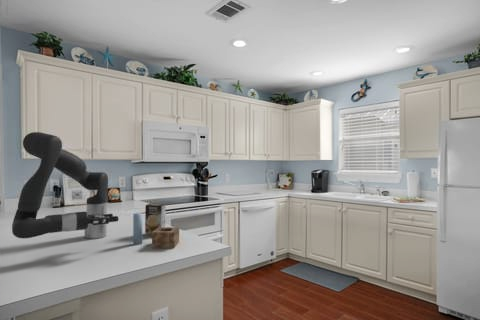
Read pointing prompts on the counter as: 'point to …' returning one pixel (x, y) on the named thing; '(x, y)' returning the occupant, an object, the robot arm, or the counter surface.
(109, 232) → the counter surface
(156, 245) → the socket block
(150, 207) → the coffee box
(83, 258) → the counter surface
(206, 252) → the counter surface
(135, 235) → the peg
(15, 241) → the counter surface
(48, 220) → the robot arm
